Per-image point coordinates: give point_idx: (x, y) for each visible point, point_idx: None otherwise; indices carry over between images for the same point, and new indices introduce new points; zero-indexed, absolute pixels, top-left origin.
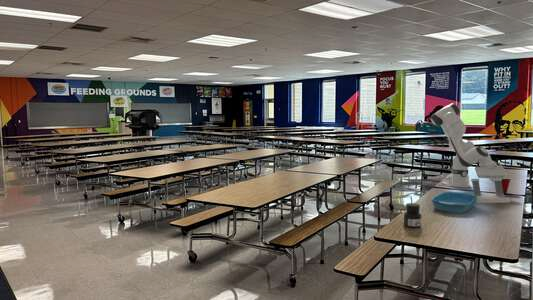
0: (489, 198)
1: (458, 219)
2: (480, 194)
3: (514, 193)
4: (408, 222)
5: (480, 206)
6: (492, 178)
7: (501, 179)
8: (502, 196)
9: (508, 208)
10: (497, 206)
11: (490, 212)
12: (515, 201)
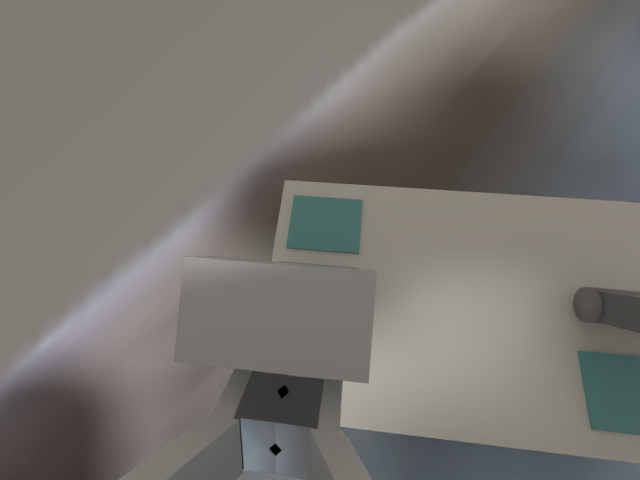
0: (515, 196)
1: None
2: (596, 288)
3: None
4: None
5: (636, 125)
6: (346, 463)
7: (205, 257)
8: (320, 244)
9: (442, 63)
10: (491, 112)
11: (626, 3)
12: (213, 231)
